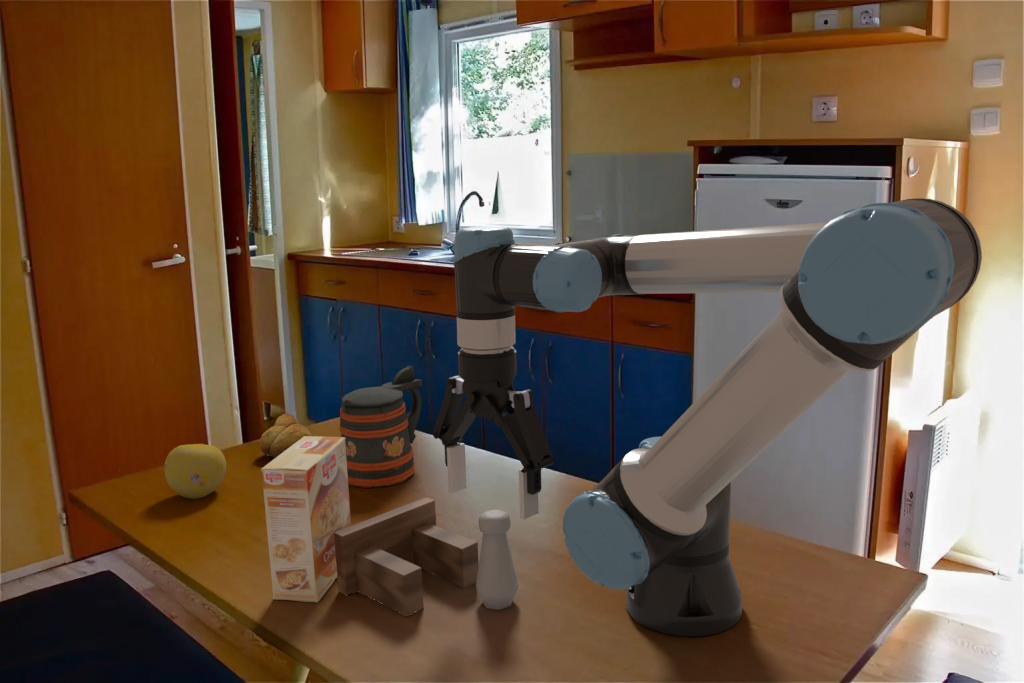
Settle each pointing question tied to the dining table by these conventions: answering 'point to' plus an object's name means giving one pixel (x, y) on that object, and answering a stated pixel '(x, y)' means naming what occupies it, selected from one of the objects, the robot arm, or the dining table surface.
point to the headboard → (402, 556)
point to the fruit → (195, 470)
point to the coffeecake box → (305, 516)
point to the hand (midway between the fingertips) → (492, 502)
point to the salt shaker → (496, 562)
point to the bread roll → (282, 435)
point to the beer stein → (380, 431)
